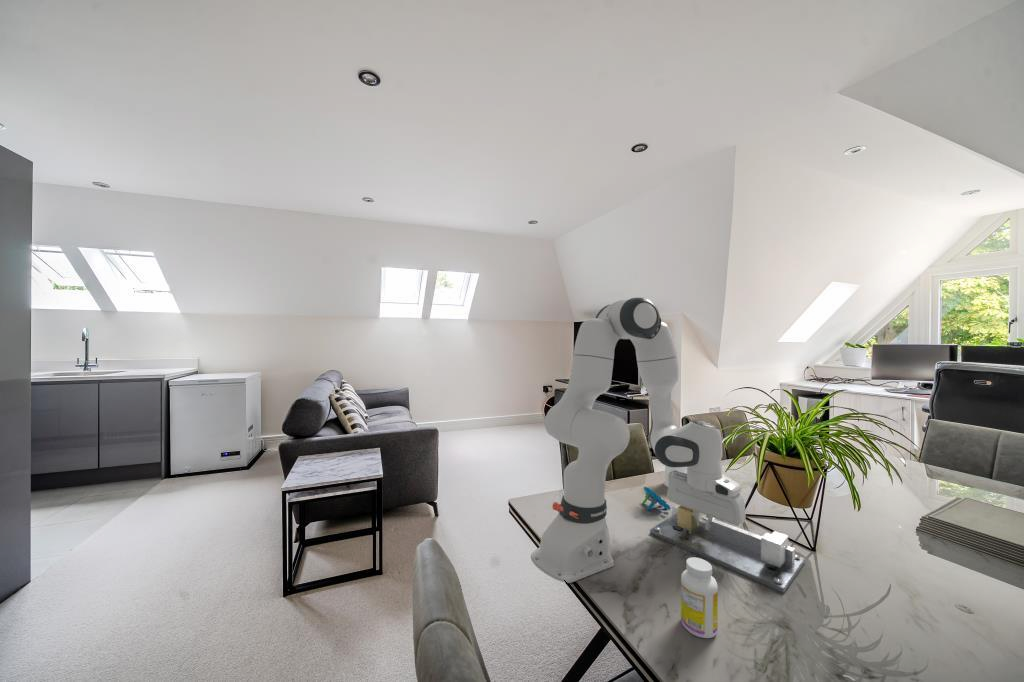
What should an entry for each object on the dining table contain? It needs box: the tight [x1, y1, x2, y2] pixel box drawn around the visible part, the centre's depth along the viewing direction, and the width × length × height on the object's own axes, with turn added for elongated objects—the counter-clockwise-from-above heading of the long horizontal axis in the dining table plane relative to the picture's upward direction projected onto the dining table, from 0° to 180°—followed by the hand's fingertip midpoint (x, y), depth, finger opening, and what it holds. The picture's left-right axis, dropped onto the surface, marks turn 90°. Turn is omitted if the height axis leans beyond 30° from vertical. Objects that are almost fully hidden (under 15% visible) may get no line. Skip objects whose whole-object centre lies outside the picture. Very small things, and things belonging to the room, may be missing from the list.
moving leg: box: [677, 505, 703, 532], centre depth 110 cm, size 8×4×7 cm, turn 130°
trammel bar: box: [671, 504, 796, 569], centre depth 103 cm, size 8×31×7 cm, turn 40°
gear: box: [641, 486, 672, 511], centre depth 126 cm, size 11×6×10 cm
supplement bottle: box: [680, 556, 719, 639], centre depth 75 cm, size 7×7×13 cm
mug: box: [663, 465, 687, 488], centre depth 144 cm, size 12×8×12 cm
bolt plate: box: [649, 515, 806, 594], centre depth 103 cm, size 18×33×2 cm, turn 40°
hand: (703, 527), depth 105 cm, fingers closed
